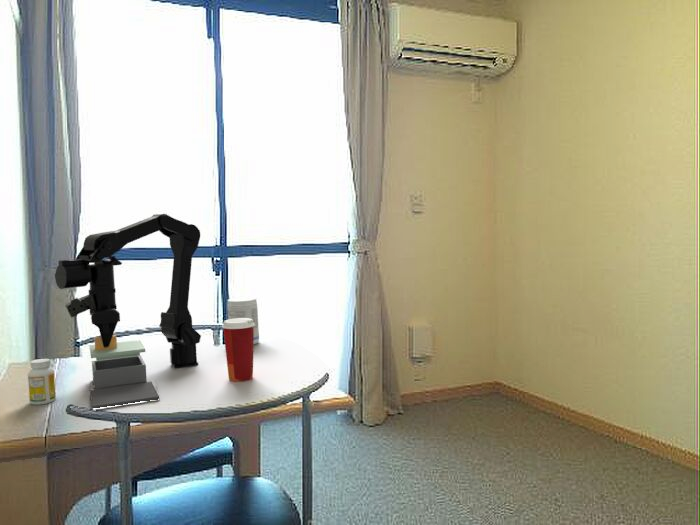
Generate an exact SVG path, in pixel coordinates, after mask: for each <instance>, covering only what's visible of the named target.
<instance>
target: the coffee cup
mask: <svg viewBox="0 0 700 525" xmlns="http://www.w3.org/2000/svg"><path fill="white" fill-rule="evenodd" d="M254 326H255V324H254V323H253V319H250V318H234V319H228V318H227V319H226V320H225V319H224V321H223V323H222V325H221V328H222V329H223V335H224V336H223V337H224V339H223V340H224V346H225V348H224V349H225V358H226V365H227V373H228V380H229V381H230V382H234V383H235V382H237V383H239V382H240V383H241V382H248V381H250V380H252V379H253V377H254V345H253V339H254Z"/></svg>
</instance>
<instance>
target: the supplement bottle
mask: <svg viewBox="0 0 700 525" xmlns="http://www.w3.org/2000/svg"><path fill="white" fill-rule="evenodd" d="M51 364H52V363H51V359H50V358H38V359H33V360H32V361H30V368H31V370H29V372H28V374H27V380H28V381H27V382H28V394H29V395H28V396H29V404H30V405H34V406H37V405H38V406H40V405H46V404H49V403H52V402H54V401H55V400H56V399H57V398H56V382H55V380H56V379H55V370H54V369H53V368H52V367H50V366H51Z"/></svg>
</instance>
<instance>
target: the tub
mask: <svg viewBox="0 0 700 525" xmlns="http://www.w3.org/2000/svg"><path fill="white" fill-rule="evenodd" d="M91 368H92V369H91V371H92V372H91V373H92V382H93V390H94V389H101V388H108V387H116V386H123V385H130V384H137V383H144V382H148V380H147V364H146V363H145V361H144V359H143V357H142V355H141V354H140V356H133V357H124V358H116V359H107V360H99V361H97V360H91Z"/></svg>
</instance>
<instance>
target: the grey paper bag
mask: <svg viewBox="0 0 700 525" xmlns="http://www.w3.org/2000/svg"><path fill="white" fill-rule="evenodd" d="M234 318H250V319H253V323H254V324H255V326H254V339H253V346H254V345H257V344H258V343H259V342H260V334H259V333H260V332H259V315H258V302H257V298H256V297H253V296H252V297H251V296H243V297H242V296H240V297H234V298H233V297H232V298H229V299H227V320H228V319H234Z"/></svg>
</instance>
